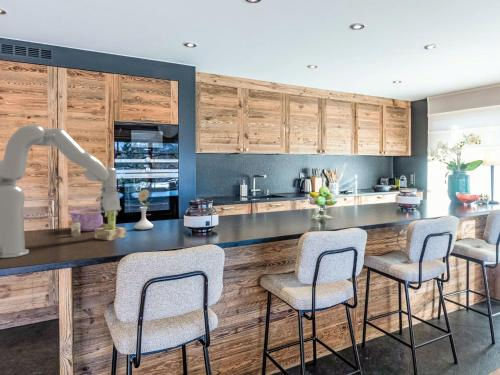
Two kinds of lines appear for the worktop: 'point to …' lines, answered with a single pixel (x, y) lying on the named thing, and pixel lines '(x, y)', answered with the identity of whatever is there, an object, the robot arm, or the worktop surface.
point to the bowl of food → (87, 219)
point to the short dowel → (75, 229)
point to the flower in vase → (143, 212)
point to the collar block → (110, 233)
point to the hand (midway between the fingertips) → (109, 222)
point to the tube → (110, 220)
